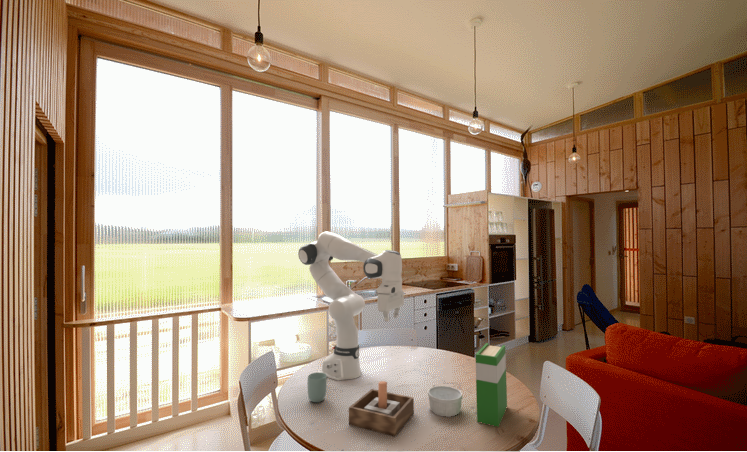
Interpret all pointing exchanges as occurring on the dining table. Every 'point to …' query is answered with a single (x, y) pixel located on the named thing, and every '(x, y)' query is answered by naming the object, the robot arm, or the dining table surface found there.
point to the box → (381, 413)
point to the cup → (317, 386)
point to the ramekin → (445, 400)
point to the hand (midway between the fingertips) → (391, 319)
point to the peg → (382, 394)
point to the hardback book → (491, 384)
